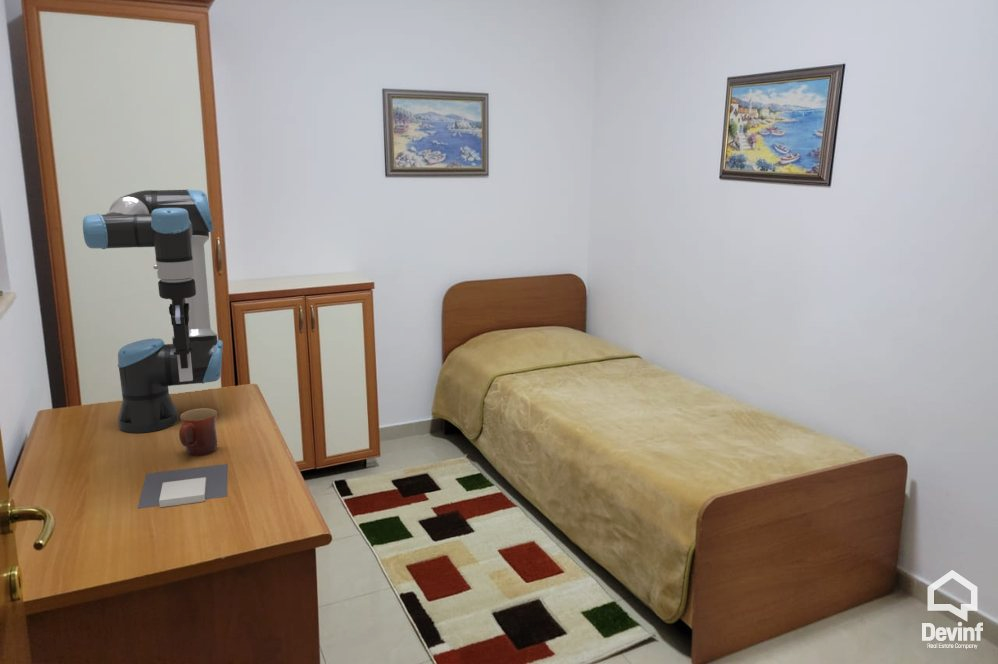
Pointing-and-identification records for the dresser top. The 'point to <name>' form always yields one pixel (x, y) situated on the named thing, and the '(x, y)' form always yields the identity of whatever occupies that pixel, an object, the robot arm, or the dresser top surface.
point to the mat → (213, 474)
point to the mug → (199, 431)
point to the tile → (183, 492)
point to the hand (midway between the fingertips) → (186, 380)
